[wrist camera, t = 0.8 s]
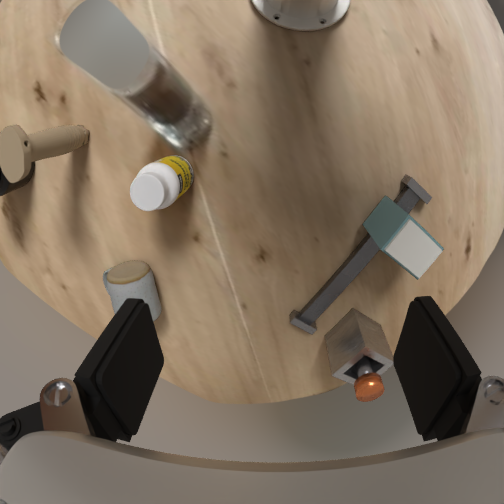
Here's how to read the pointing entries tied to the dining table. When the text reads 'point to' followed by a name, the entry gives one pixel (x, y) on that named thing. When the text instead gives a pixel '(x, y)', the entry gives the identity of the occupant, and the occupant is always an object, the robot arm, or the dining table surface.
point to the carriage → (402, 238)
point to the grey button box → (357, 346)
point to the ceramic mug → (132, 285)
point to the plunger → (367, 381)
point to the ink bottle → (3, 186)
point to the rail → (353, 263)
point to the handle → (36, 147)
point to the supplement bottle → (161, 183)
